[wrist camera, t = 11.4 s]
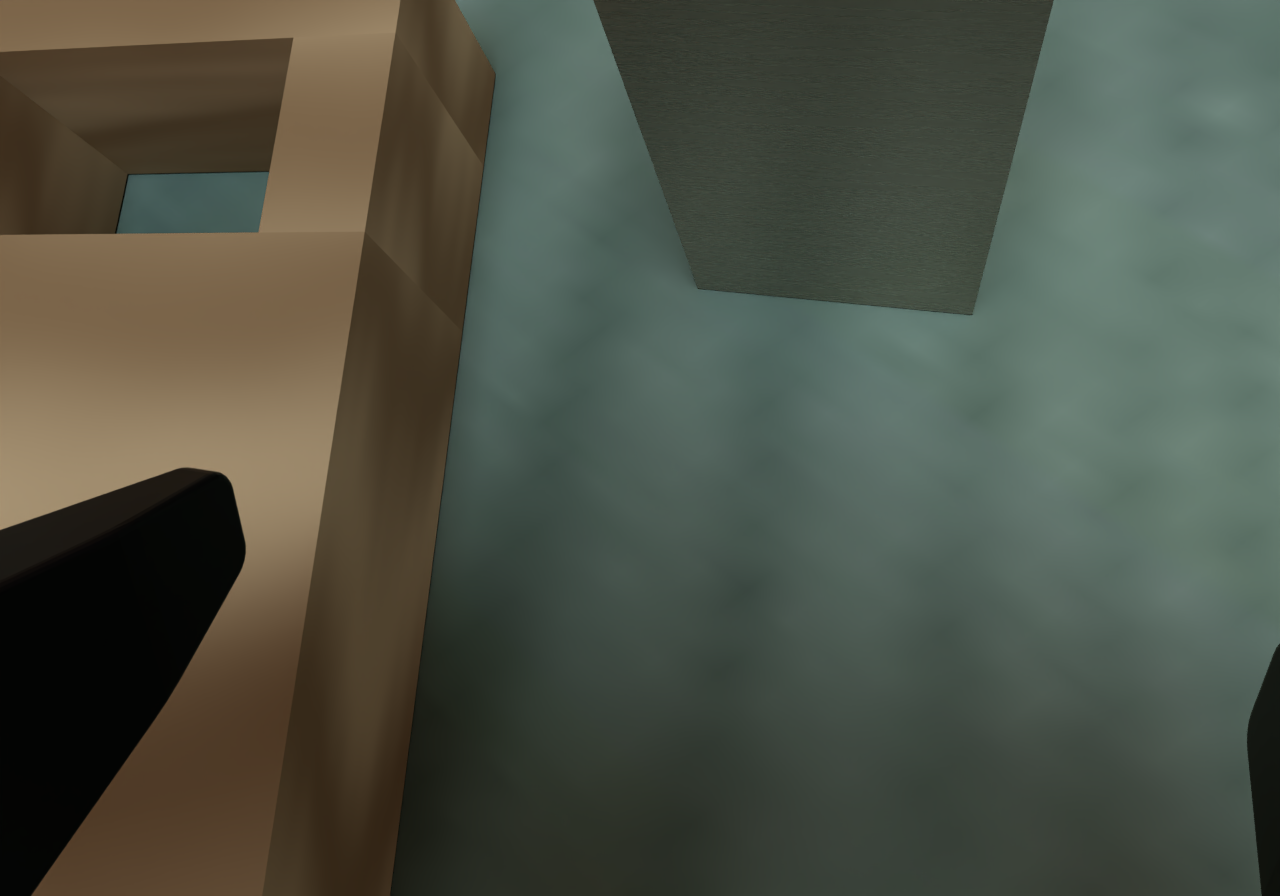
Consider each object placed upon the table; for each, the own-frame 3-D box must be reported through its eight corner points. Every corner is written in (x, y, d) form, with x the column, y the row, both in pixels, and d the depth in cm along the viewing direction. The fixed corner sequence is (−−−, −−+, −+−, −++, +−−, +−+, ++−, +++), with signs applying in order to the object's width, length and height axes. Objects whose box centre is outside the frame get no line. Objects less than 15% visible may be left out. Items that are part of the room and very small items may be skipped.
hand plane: (335, 1314, 16) (-153, 1847, 8) (-184, 1205, 18) (-978, 1556, 10) (495, 74, 21) (281, -317, 13) (74, 90, 22) (-330, -243, 15)
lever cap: (971, 323, 18) (1169, -434, 6) (696, 296, 19) (437, -396, 7) (986, 193, 18) (1197, -728, 7) (718, 173, 19) (509, -654, 8)
